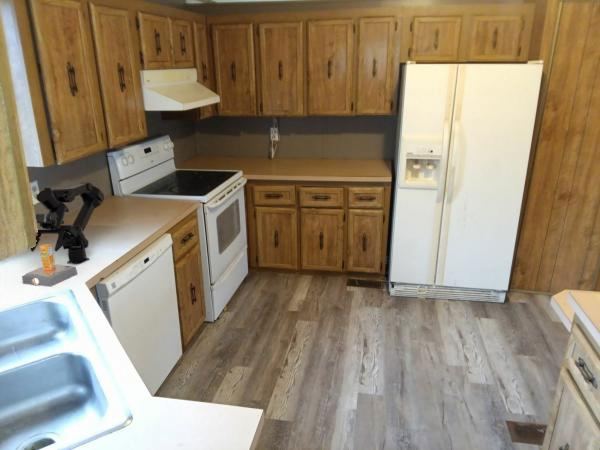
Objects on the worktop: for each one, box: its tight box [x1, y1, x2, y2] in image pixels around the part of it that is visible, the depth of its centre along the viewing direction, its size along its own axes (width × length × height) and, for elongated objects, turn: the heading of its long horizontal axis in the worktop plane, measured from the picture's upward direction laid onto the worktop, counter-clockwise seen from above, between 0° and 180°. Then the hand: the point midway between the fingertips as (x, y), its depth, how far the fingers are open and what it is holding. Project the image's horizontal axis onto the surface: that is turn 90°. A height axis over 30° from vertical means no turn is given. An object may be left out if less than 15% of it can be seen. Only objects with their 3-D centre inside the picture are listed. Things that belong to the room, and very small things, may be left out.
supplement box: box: [38, 243, 56, 271], centre depth 171 cm, size 3×3×10 cm
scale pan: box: [25, 263, 73, 278], centre depth 172 cm, size 11×11×1 cm
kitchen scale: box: [21, 266, 78, 288], centre depth 172 cm, size 14×13×3 cm
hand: (43, 251), depth 168 cm, fingers open, 9 cm apart
